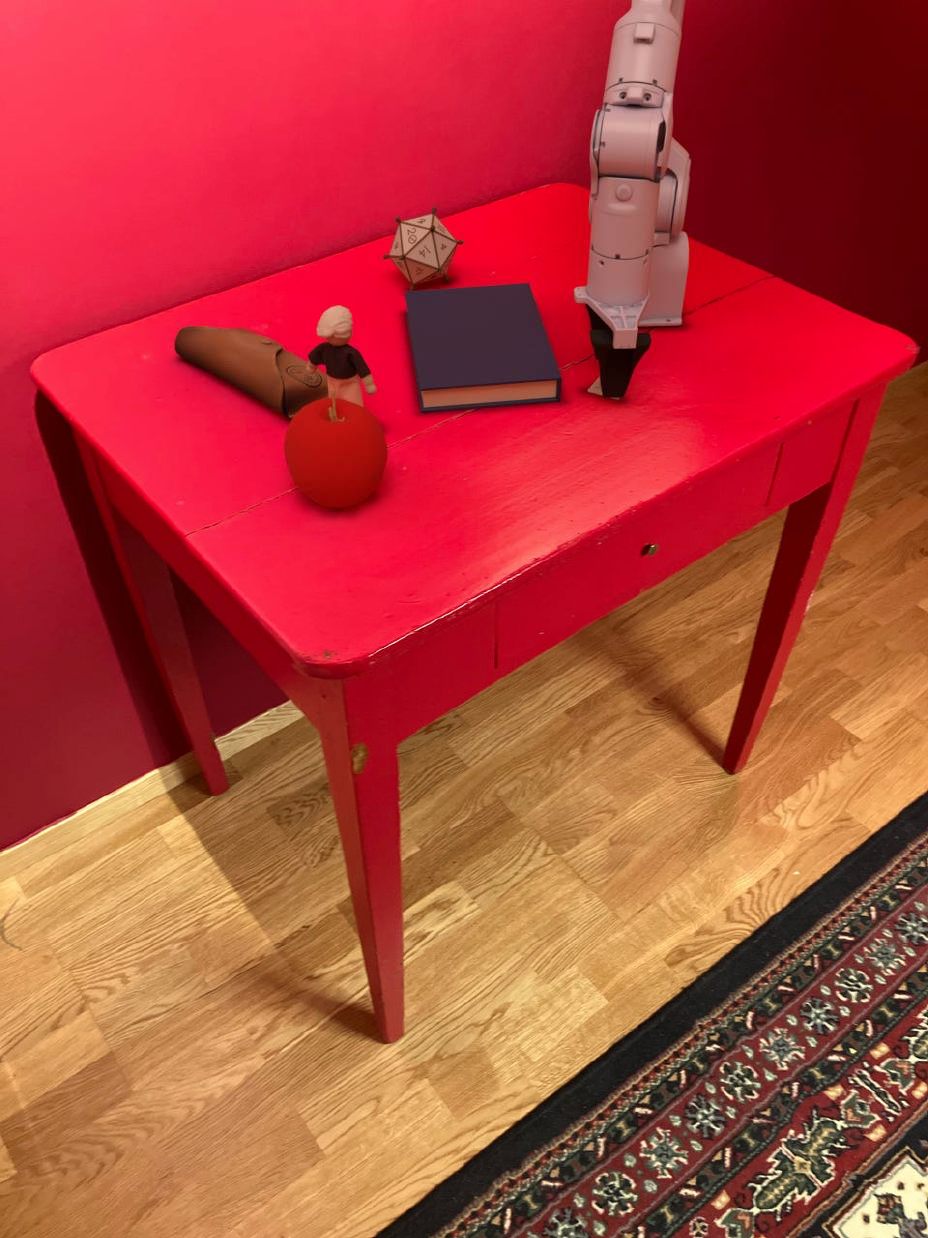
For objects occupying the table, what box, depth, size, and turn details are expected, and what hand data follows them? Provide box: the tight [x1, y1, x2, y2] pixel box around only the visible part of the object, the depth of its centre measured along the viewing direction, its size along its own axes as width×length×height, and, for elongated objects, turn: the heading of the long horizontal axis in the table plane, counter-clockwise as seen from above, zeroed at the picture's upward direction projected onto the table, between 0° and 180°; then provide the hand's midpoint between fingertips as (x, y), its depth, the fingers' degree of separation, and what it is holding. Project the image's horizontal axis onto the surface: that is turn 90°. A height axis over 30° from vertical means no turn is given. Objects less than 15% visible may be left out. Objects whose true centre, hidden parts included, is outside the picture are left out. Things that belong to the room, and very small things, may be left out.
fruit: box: [283, 390, 389, 508], centre depth 89 cm, size 9×9×10 cm
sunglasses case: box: [173, 325, 329, 420], centre depth 105 cm, size 18×7×7 cm
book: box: [404, 282, 563, 414], centre depth 108 cm, size 14×20×3 cm
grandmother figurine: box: [306, 305, 378, 408], centre depth 95 cm, size 8×4×13 cm, turn 71°
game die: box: [381, 205, 466, 291], centre depth 118 cm, size 9×8×10 cm
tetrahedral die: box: [587, 376, 620, 401], centre depth 103 cm, size 4×3×3 cm
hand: (609, 376), depth 103 cm, fingers open, 6 cm apart
